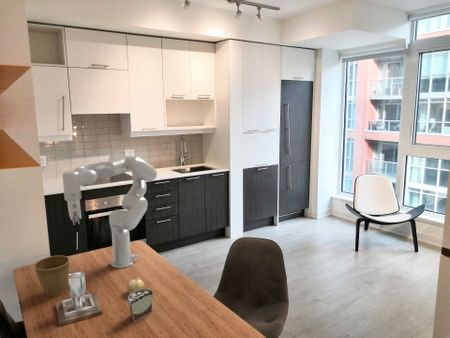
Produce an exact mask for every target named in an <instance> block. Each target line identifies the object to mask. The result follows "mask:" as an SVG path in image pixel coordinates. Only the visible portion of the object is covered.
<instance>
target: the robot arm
mask: <svg viewBox="0 0 450 338" xmlns="http://www.w3.org/2000/svg"><path fill="white" fill-rule="evenodd" d="M127 172H131V175H132V185H131V187H130V189H129V190H128V192H127V194H126V195H125V196H124V198H123V199H122V201H121V207H122V208H123V209H124V210H123V209H115V210H113V211H111V213H109V216H108V217H109V218H108V220H109V221H108V223H109V227H110V230H111V242H112V257H113V259H112V261H111V262H110V266H111V267H113V268H114V269H115V268H116V269H121V268H123V269H124V268H127V267H130V266H132V265H133V264H134V262H135V260H134V259H139V258H140V254H136V253H133V254H131V239H130V231H132V230H133V229H135V228H136V227H137V226H138V224H139V223H140V221H141V220H142V218H143V216H144V215H145V213H146V211H147V210H148V205H149V203H148V200H147V199H146V198H145V197H144V196H145V194H146V192H147V182H152V181H153V182H154V181H155V179H157V176H158V174H157V173H158V172H157V170H156V169H155V167H153V165H151V164H150V163H148V162H147V161H145V160H143V159H142V158H140V157H139V156H132V155H131V156H130V155H126V156H121V157H117V158H115V159H111V160H107V161H102V162H97V163H89V164H87V165H86V164H85V165H82V166H78V167H76V168H75V169H73V170H67V171H64V172H63V173H62V184H63V185H62V186H63V195H64V196H63V197H64V201H66V202H67V208H68V215H69V218H70V219H69V220H70V227H72V232H73V234H74V233H80V232H81V224H80V220H82V210H81V202H80V200H81V199H82V191H81V185H91V184H94V183H95V182H96V181H97V179H98V178H99V177H100V178H101V177H102V178H103V177H104V178H107V177H108V178H111V177H115V176H117V175H120V174H123V173H127Z"/></svg>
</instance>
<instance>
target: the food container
mask: <svg viewBox="0 0 450 338" xmlns="http://www.w3.org/2000/svg"><path fill="white" fill-rule="evenodd" d="M154 294H155V292H154V290H153V289H150V288H143V289H139V290H136V291H134V292H132V293H129V295H128V297H127V305H128V306H129V310H130V311H129V312H130V317H131V318H130V319H131V321H132V322H133V323H136V322H137V321H139V320H141V319H143V318H145V317H146V316H147V315H150V314H152V313H153V297H154V296H153V295H154Z"/></svg>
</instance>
